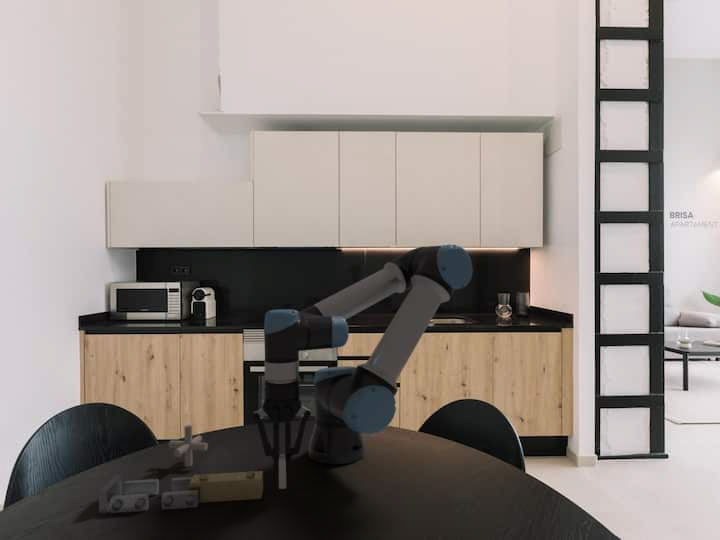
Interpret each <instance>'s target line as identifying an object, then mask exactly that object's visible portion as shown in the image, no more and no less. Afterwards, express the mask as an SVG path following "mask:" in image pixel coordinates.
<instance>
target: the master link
mask: <svg viewBox="0 0 720 540" xmlns="http://www.w3.org/2000/svg"><path fill="white" fill-rule="evenodd" d="M192 477H193V478H192V479H191V481H190V483H189V491H191V490H198V504H199V503H211V502H212V503H213V502H228V501H243V500H244V501H245V500H259V499H260V500H261V499H262V496H263V492H264V471H263V470H258V471H254V470H253V471H252V470H250V471H242V472H241V471H240V472H239V471H238V472H224V473H223V472H221V473H218V472H217V473H201V474H200V473H199V474H194V475H193V476H192Z"/></svg>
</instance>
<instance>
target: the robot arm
mask: <svg viewBox="0 0 720 540" xmlns="http://www.w3.org/2000/svg"><path fill="white" fill-rule="evenodd" d="M472 277H473V264H472V259H471V257H470V255H469V253H468V251H466V249H465V248H463V247H462V246H460V245H459V244H449V243H444V244H442V245H430V246H429V245H428V246H419V247H416V248H413V249H411V250H409V251H407V252H405V253H403V254H401V255H399V256H398V257H396V258H394V259H392V260H390V261H388V262H386V263H385V264H384V266H383V268H382V269H380V270H378V271H377V272H375V273H373V274H371V275H369V276H367V277H364V278H363V279H361V280H359V281H357V282H355V283H353V284H352V285H349V286H348V287H345V288H344V289H341V290H340V291H338V292H337V293H334V294H332V295H330V296H328V297H327V298H324V299H322V300H320V301H318V302H317V303H315V304H313V305H311V306H309V307H307V308H305V309H303V310H301V311H299V310H296V309H271V310H268V311H267V312H266V313H265V315H264V328H263V334H264V335H263V336H264V339H263V341H264V380H265V382H264V401H263V403H262V407H261V408H259V409H257V410H256V409H255V410H254V411H253V414H252V418H253V420H254V421H255V423H256V424H257V428H258V431H259V435H260V439H261V442H262V448H263V451H264V455H265V456H266V457H271V458H272V460H273V472H274V473H278V490H282V489H283V490H284V489H286V488H287V473H288V472H291V470H292V457H293V456H295V455H298V454H300V453H299V452H300V450H301V445H302V441H303V437H304V433H305V432H304V431H305V429H306V428H305V427H306V424H307V421H308V420H309V418H310V417H311V415H312V414H311V413H312V412H311V408H310V407H305V406H304V405H302V402H301V401H302V400H301V399H300V381H299V380H298V378H299V377H300V368H299V367H300V352H305V351H312V350H313V351H314V350H325V349H327V350H328V349H331V350H333V349H335V348H341V347H342V348H343V347H344V346H345V345H346V344H347V342H348V340H349V330H350V329H349V324H348V322H347V319H350V318H351V317H353V316H355V315H358V314H359V313H361V312H362V311H364V310H366V309H368V308H370V307H371V306H373V305H375V304H377V303H378V302H380V301H382V300H384V299H385V298H388V297H390V296H391V295H393V294H395V293H397V294H403V293H404V292H406V291H408V290H410V291H409V292H408V294H407V295H406V297H405V298H404V300H403V301H402V303H401V305H400V307H399V309H398V310H397V312H396V313H395V315H394V317H393V318H392V319H391V322H390V323H389V325H388V327H387V328H386V330H385V331H384V333H383V334H382V337H381V338H380V340H379V341H378V343H377V345H376V347H375V348H374V350H373V351H372V353H371V355H370V356H369V358H368V360H367V361H366V362H364V363H361V364H358V365H357V366H347V365H346V366H334V367H333V366H331V367H325V368H320V369H318V370H317V371H315V374H314V381H313V386H314V428H313V431H312V435H311V437H310V441H309V444H308V457H309V459H311V460H313V462H315V463H316V462H317V463H320V464H325V465H346V464H351V463H354V462H357V461H359V460H361V459H362V458H364V456H365V454H366V444H365V441H364V438H363V435H362V434H364V435H373V434H377V433H380V432H382V431H383V430H385V429H386V428H387V427H388V426H389V425H390V424H391V422H392V420H394V417H395V414H396V410H397V408H396V398H395V396H396V395H397V392H398V390H399V388H398V386H397V381H398V378H399V376H400V374H401V373H402V371H403V370H404V368H405V366H406V365H407V363H408V361H409V359H410V357H411V356H412V354H413V353H414V350H415V349H416V347H417V346H418V344H419V342H420V340H421V338H422V336H423V335H424V333H425V331H426V330H427V328H428V326H429V324H430V322H431V321H432V319H433V317H434V316H435V314H436V312H437V311H438V309H439V307H440V306H441V304H442V303H446V302H449V301H450V299H451V298H452V296H453V295H454V293H455V290H461V289H462V288H465V287H466V286H467V285H468V284H469V283H470V281H471V280H472ZM298 412H299V416H300V419H299V425H298V428H297V431H296V437H295V441H294V446H292V421H293V420H294V418H295V417H296V416H297V414H298ZM265 414H266V415H267V417H268V418H269V420H270V421H271V422H272V426H273V427H272V428H273V430H272V433H273V434H272V435H273V437H272V439H273V440H272V441H273V447H272V446H271V441H270V439H269V434H268V429H267V426H266V422H265ZM280 423H284V433H285V434H284V436H285V437H284V439H285V440H284V442H285V443H284V444H285V445H284V447H285V449H284V450H285V453H281V454H280Z"/></svg>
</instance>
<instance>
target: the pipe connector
mask: <svg viewBox="0 0 720 540" xmlns="http://www.w3.org/2000/svg"><path fill="white" fill-rule="evenodd" d="M183 427H184V428H183V429H184V440H170V441H169V442H168V448H170V449H174V450H173V456H174V457H175V458H179V457H181V456H182V455H183V454H184V467H185V468H189V466H190V467H192V466H193V450H194V451H195V450H196V451H207V450H208V447H209V443H207V442H202V441H203V437H202V436H201V435H196V436H195V437H193V425H192V424H186V425H185V426H183Z"/></svg>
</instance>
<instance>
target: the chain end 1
mask: <svg viewBox="0 0 720 540" xmlns="http://www.w3.org/2000/svg"><path fill="white" fill-rule="evenodd" d="M159 492H160V481H159V478H154V479H153V478H152V479H151V478H150V479H138V480H137V479H136V480H127V481H126V480H125V481H124V482H123V474H114V475H113V476H112V477H111V478H110V480H108V482H107V483H105V484H104V486H103V487H102V488H101V489H100V490H99V491H98V514H99V515H103V514H105V513H106V514H108V511H109V512H110V514H119V512H121V513H131V512H132V511H133V512H145V511H148V510H149V508H150V507H149V506H150V503H149V502H150V501H149V499H150V498H149V497H150V496H158V494H159ZM133 512H132V513H133ZM106 514H105V515H106Z"/></svg>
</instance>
